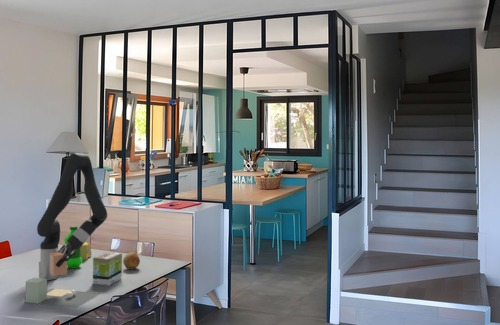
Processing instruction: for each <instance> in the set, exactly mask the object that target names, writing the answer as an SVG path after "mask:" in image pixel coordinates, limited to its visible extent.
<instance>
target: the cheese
mask: <svg viewBox="0 0 500 325" xmlns="http://www.w3.org/2000/svg"><path fill="white" fill-rule="evenodd" d="M88 257H89V258H91V257H92V246H91V244H90V243H89V242H87V241H86V242H85V243H84V244H83V245H82V246H81V258H82V261H87V260H89V258H88Z"/></svg>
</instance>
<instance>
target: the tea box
mask: <svg viewBox="0 0 500 325" xmlns="http://www.w3.org/2000/svg"><path fill="white" fill-rule="evenodd" d="M92 258H93V259H92V284H93V285H103V286H110V285H111V284H114V283H116V282H118V281H119V280H121V279H122V275H123V274H122V270H123V268H122V267H123V265H122V264H123V253H121V252H112V251H111V252H109V251H107V252H103V253H101V254H98V255H97V256H94V257H92Z"/></svg>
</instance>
